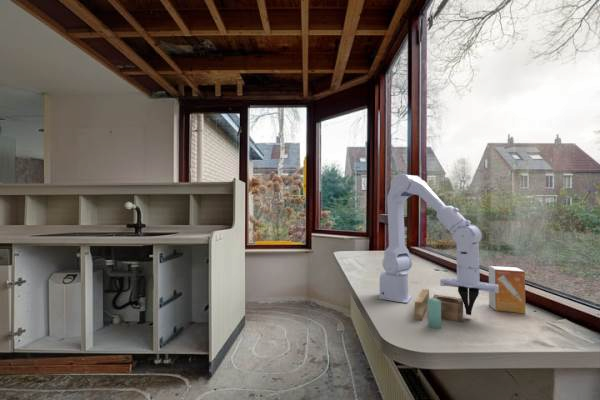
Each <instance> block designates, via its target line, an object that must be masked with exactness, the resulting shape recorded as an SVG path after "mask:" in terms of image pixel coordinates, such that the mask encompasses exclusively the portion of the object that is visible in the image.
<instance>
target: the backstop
mask: <svg viewBox="0 0 600 400" xmlns="http://www.w3.org/2000/svg"><path fill="white" fill-rule="evenodd" d="M429 298H430V289H424V288H422V289H421V291H420V293H418V296H417V297H416V299H415V300H414V319H415V320H418V321H419V320H420V321H423V319H424V318H425V315H426V313H427V312H428V299H429Z"/></svg>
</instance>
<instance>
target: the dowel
mask: <svg viewBox="0 0 600 400" xmlns="http://www.w3.org/2000/svg"><path fill="white" fill-rule="evenodd" d="M427 324H428V325H427V326H428V327H430V328H432V329H441V328H442V318H441V300H439V299H435V298H433V297H432V298H431V297H429V299H428V309H427Z"/></svg>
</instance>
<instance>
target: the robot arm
mask: <svg viewBox="0 0 600 400" xmlns="http://www.w3.org/2000/svg"><path fill="white" fill-rule="evenodd" d="M413 195H416V196H419V197H420V198H421V199H422V200H423V201H424V202H425V203H427V204H428V206H430V207H431V209H433V210H434V212H436V218H437V220H438V221H439V222H440V223H441V224H442V225H443V226H444V227H445V228H446V229H447V231H449V232H450V233H451V234H452V235H451V236H452V239H453V242H454V243H455V244H456V278H444V277H440V279H439V282H440V286H441V287H451V288H457V293H458V294H459V297H460V298H462V300H463V307H464V310H465V314H466V315H468V316H472V311H473V307H474V304H475V302H476V300H477V298H478V297H479V295H480V291H483V292H489V291H490V292H494V293H499V286H498V285H497V284H490V283H489V282H484V281H481V280H480V274H481V273H480V272H481V271H480V244H479V243H480V242H481V240H482V239H483V233H482V231H481V229H480V228H479V226H478V225H474V224H471V223H472V221H470V220H469V219H466V218H465V217H464V216H463V215H462V214H461V213H460V209H459V208H458V207H454V206H453V205H446V204H445V202H443V201H442V199H440V197H439V196H438V195H437V194H436V192H434V191H433V189H432V188H431V187H430V186H429V185H428V183H427V182H426V181H425V180H424V179H422V178H421V177H420V176H419V175H414V174H413V175H412V174H406V173H401V172H400V173H397V174H396V175H395V176H394V177H393V178H392V179H391V180H390V188H389V191H388V193H387V196H386V197H387V199H386V201H387V204H386V205H387V224H388V225H387V226H388V228H387V229H388V230H387V231H388V247H387V248H386V249H385V251H384V254H383V255H384V256H383V260H382V268H383V270H384V271H382V272H380V275H379V297H378V299H379V300H386V301H390V302H391V301H392V302H398V303H404V304H408V303H409V301H410V300H411V298H412V295H409V271H410V270H411V268H412V265H413V260H412V258H411V256H410V251H409V249H408V248H407V246H406V240H405V239H406V238H405V237H406V236H405V234H406V233H405V216H404V215H405V210H404V202H405V201H406V200H407V199H408V198H410V197H412V196H413Z"/></svg>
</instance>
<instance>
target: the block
mask: <svg viewBox="0 0 600 400" xmlns="http://www.w3.org/2000/svg"><path fill="white" fill-rule="evenodd" d="M432 298H435V299H439V300H441V320H448V321H449V320H450V321H453V322H460V323H463V320H464V303H463V300H462V298H461V297H456V296H448V295H441V294H436V293H434V294H433V297H432Z"/></svg>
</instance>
